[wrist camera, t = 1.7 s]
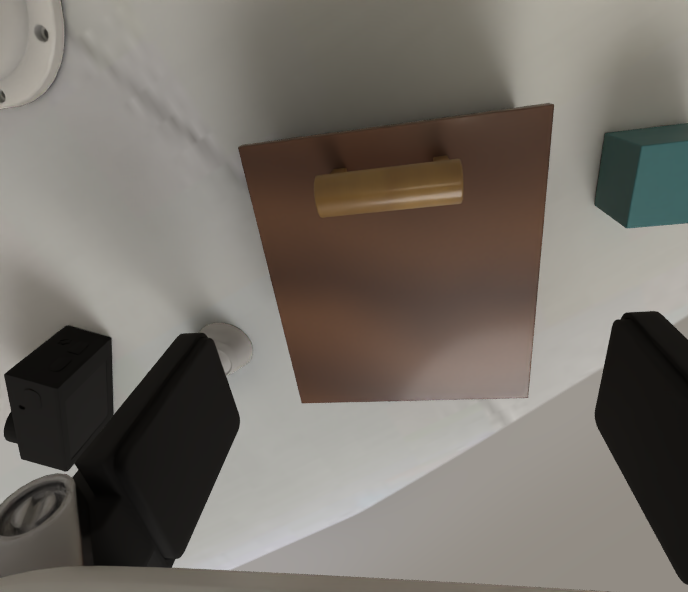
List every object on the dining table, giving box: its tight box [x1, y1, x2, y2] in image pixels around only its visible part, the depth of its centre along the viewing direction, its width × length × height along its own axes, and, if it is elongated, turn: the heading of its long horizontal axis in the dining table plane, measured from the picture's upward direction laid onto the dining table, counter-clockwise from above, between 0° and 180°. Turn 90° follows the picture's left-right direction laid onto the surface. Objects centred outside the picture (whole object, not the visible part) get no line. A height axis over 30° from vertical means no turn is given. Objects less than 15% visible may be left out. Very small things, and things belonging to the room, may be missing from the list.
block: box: [595, 123, 688, 228], centre depth 24 cm, size 4×4×4 cm
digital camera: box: [4, 326, 113, 471], centre depth 37 cm, size 10×5×7 cm, turn 165°
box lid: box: [238, 103, 554, 403], centre depth 22 cm, size 17×15×5 cm
